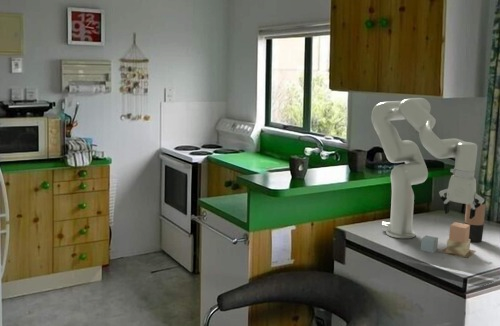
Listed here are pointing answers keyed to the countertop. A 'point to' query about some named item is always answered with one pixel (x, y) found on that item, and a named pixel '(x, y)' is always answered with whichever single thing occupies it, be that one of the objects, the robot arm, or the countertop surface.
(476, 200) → the travel mug
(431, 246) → the slate block
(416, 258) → the countertop surface
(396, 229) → the robot arm
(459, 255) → the walnut board
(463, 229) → the terracotta block
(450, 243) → the beech base block
